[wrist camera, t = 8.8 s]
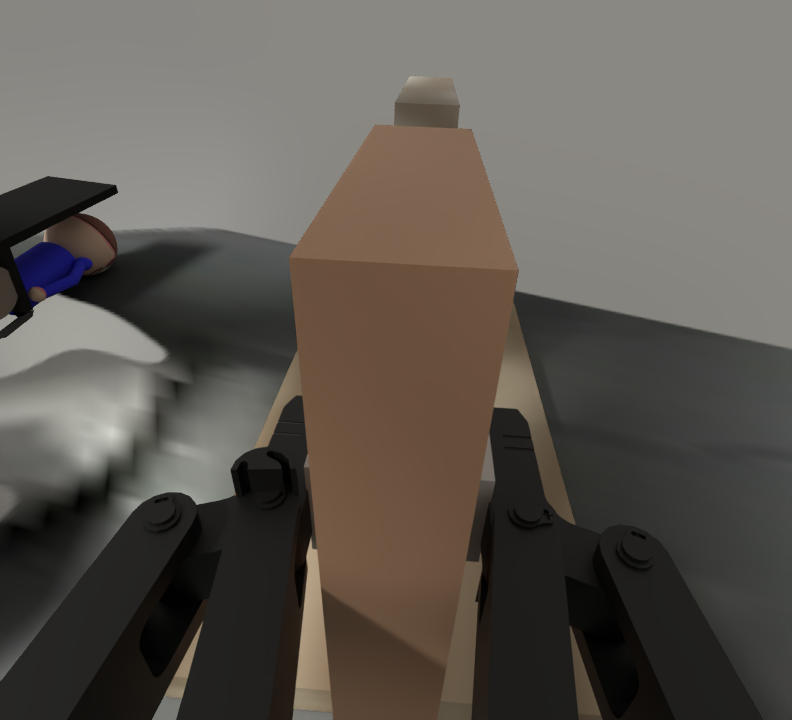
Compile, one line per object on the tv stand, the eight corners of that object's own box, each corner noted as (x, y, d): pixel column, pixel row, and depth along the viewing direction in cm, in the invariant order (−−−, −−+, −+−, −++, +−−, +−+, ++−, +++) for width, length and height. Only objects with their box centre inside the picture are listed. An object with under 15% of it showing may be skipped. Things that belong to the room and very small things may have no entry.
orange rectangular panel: (337, 759, 13) (288, 256, 5) (372, 500, 20) (374, 124, 12) (428, 768, 13) (518, 270, 5) (431, 505, 20) (471, 128, 12)
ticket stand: (166, 697, 16) (-83, 208, 7) (323, 309, 37) (309, 72, 29) (614, 739, 15) (945, 264, 6) (510, 321, 37) (554, 82, 28)
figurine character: (17, 376, 32) (146, 261, 43) (-52, 271, 27) (115, 172, 38) (-75, 363, 33) (76, 253, 44) (-158, 259, 28) (37, 166, 39)
